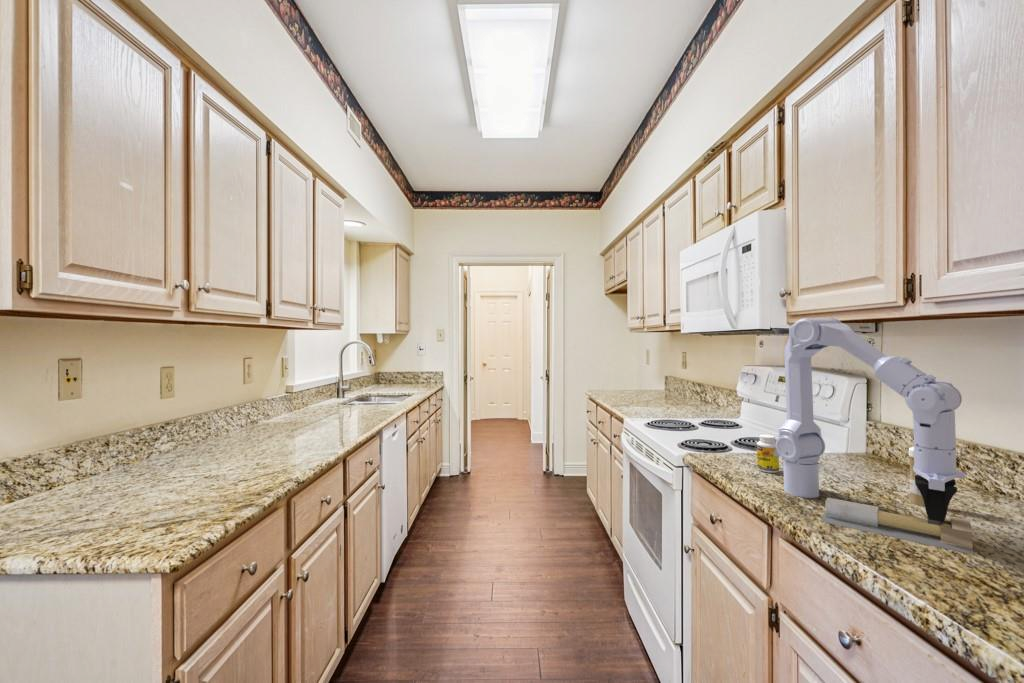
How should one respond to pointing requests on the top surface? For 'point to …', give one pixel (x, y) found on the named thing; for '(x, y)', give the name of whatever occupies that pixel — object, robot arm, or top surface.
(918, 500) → the sprinkles bottle
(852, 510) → the outer sleeve
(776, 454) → the supplement bottle
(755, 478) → the top surface
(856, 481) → the top surface
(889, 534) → the base board
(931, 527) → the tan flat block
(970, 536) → the socket block
